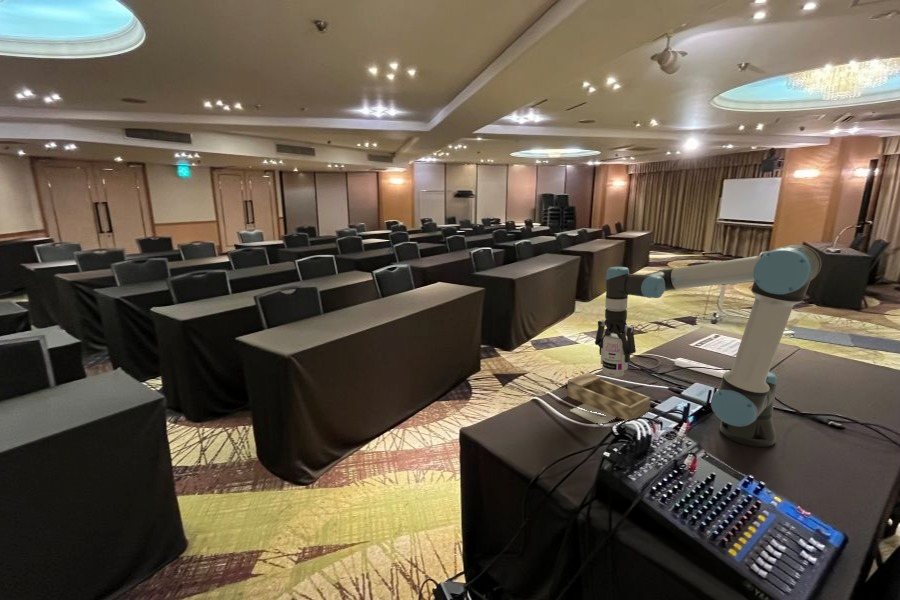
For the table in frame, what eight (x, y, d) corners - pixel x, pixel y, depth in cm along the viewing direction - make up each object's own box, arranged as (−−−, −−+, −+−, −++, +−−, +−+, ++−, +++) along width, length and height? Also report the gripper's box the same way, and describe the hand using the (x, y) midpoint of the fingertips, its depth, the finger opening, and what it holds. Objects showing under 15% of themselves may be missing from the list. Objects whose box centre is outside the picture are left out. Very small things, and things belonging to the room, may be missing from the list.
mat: (616, 418, 151) (616, 417, 151) (601, 426, 146) (601, 424, 146) (584, 404, 162) (584, 403, 162) (569, 411, 157) (569, 410, 157)
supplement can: (621, 369, 161) (622, 332, 158) (628, 377, 153) (629, 339, 150) (599, 369, 162) (601, 333, 158) (605, 377, 154) (606, 339, 150)
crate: (649, 412, 154) (650, 394, 153) (629, 423, 147) (630, 405, 146) (587, 387, 177) (587, 372, 175) (567, 396, 170) (567, 380, 168)
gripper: (649, 311, 145) (645, 372, 150) (597, 302, 162) (596, 357, 167) (637, 315, 141) (633, 377, 146) (585, 306, 158) (584, 361, 163)
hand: (613, 366), depth 157 cm, fingers closed on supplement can, 8 cm apart
